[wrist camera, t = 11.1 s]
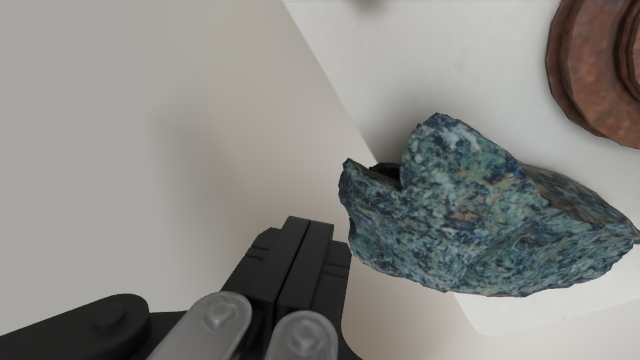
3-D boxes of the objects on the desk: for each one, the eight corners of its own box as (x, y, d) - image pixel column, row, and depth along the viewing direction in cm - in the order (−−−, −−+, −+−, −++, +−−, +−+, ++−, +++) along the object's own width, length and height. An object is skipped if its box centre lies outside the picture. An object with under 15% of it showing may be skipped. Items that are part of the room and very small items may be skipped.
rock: (373, 284, 44) (362, 381, 31) (332, 115, 37) (295, 144, 23) (603, 272, 36) (730, 399, 22) (611, 49, 28) (811, 35, 15)
